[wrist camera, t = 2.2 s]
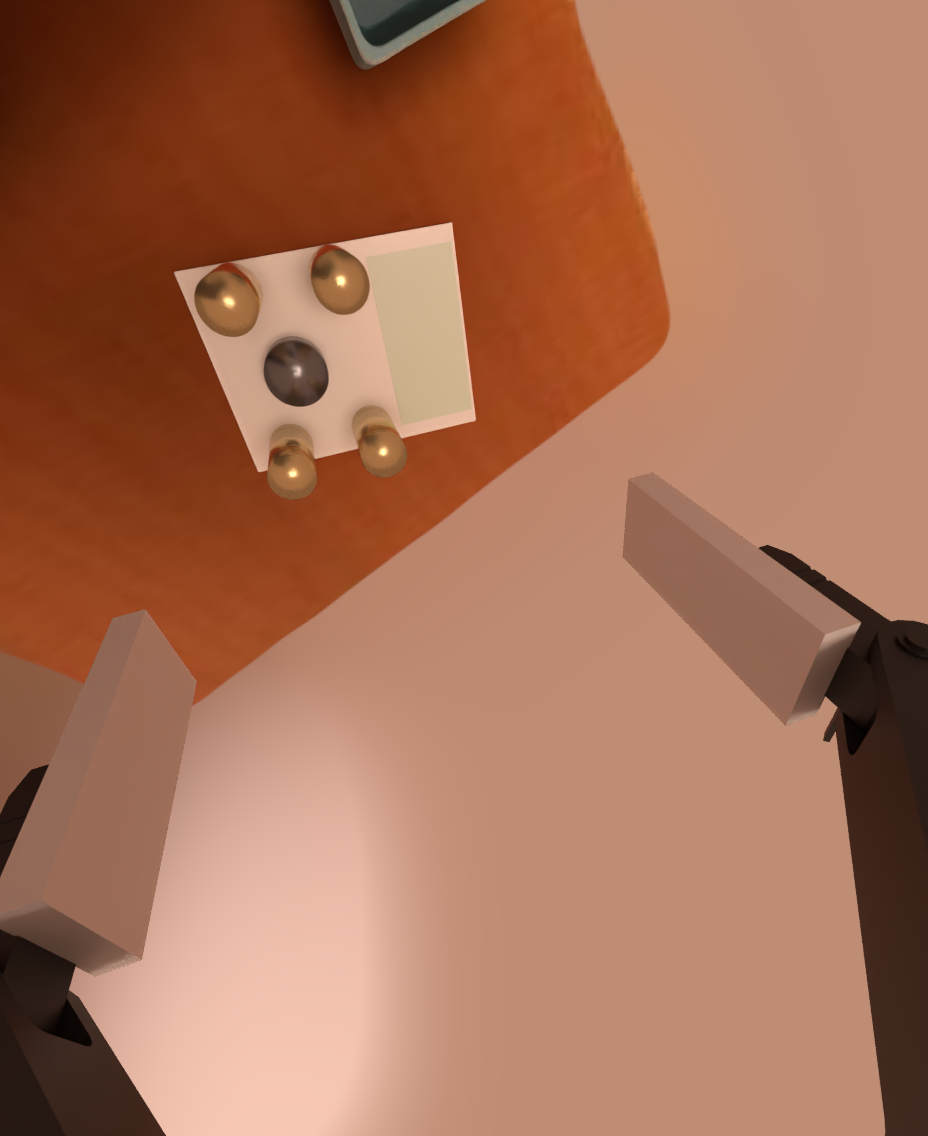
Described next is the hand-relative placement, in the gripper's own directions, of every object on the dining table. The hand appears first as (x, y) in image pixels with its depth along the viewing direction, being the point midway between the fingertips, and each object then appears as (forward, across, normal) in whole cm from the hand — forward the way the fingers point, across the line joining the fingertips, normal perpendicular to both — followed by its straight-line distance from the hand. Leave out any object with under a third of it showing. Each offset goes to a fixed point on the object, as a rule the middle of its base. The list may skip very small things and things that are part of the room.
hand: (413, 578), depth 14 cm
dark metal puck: (+26, -3, 0) cm, 26 cm away
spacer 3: (+26, +1, +5) cm, 27 cm away
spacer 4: (+26, +1, -5) cm, 27 cm away
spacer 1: (+26, -5, +5) cm, 27 cm away
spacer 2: (+26, -5, -5) cm, 27 cm away
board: (+27, 0, 0) cm, 27 cm away
